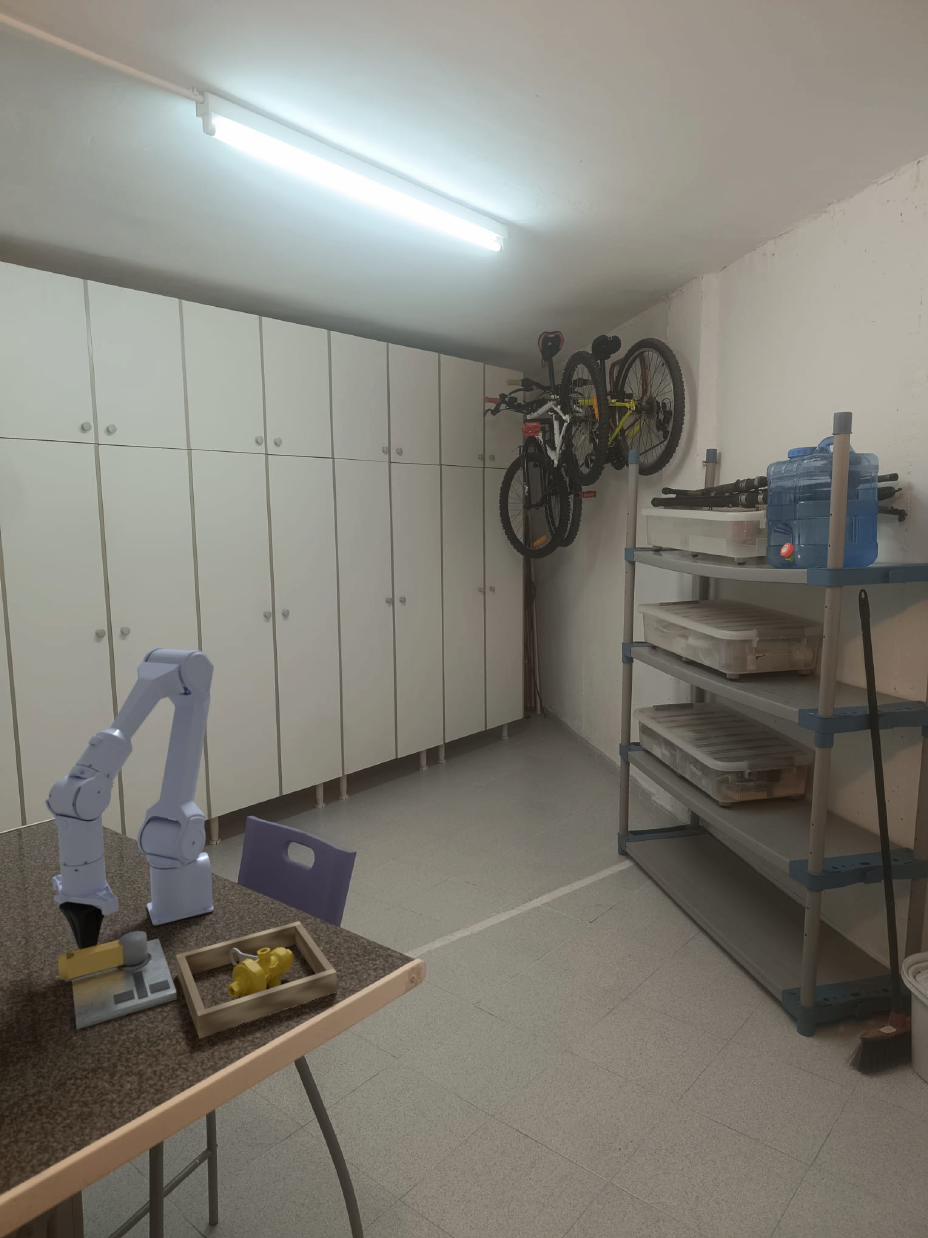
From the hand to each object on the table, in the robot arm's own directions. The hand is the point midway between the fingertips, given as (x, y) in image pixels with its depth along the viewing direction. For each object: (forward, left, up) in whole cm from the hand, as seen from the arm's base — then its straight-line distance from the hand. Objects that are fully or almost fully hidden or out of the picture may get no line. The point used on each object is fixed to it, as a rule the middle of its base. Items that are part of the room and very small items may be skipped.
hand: (88, 947), depth 108 cm
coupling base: (-4, +8, -2) cm, 9 cm away
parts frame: (-20, +18, -2) cm, 27 cm away
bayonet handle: (-2, +5, -1) cm, 5 cm away
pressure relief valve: (-19, +17, -3) cm, 26 cm away
